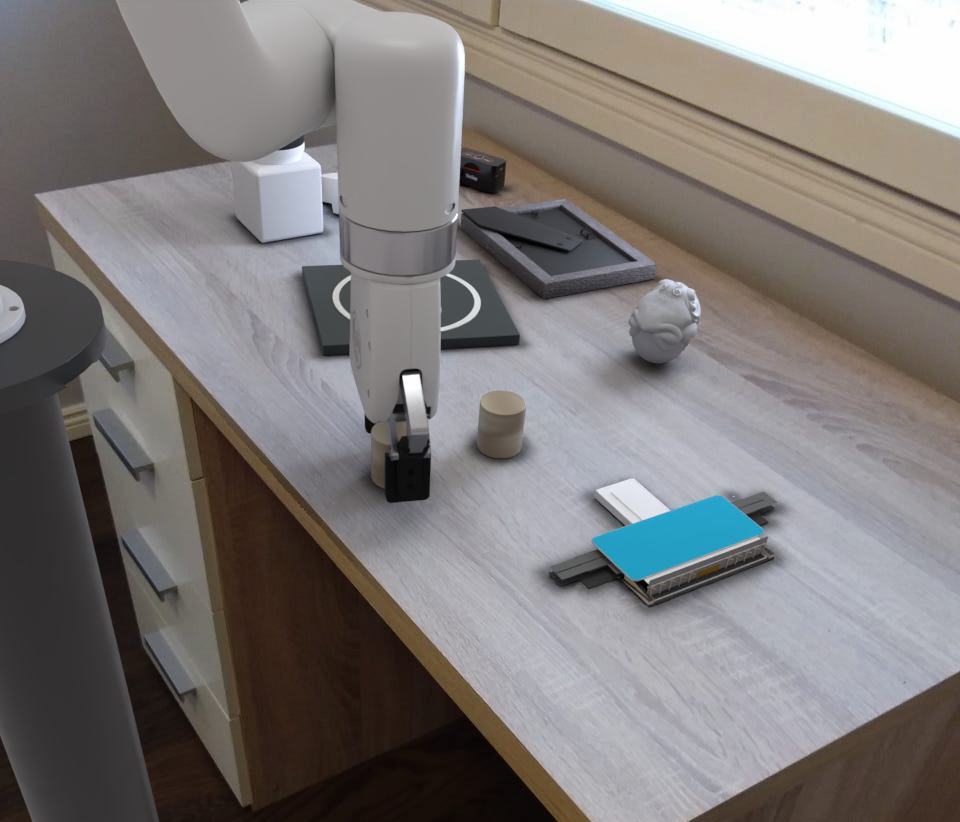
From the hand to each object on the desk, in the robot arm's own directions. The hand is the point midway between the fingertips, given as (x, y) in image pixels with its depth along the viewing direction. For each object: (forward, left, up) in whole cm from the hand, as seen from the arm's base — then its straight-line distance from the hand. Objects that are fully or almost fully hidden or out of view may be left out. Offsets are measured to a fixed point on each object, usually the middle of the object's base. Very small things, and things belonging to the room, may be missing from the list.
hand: (395, 463), depth 80 cm
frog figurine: (+27, +15, -2) cm, 31 cm away
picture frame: (+24, +38, -1) cm, 45 cm away
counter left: (0, 0, -1) cm, 1 cm away
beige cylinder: (+9, +3, -1) cm, 9 cm away
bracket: (+8, +53, -1) cm, 54 cm away
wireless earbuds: (+19, +57, -1) cm, 60 cm away
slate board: (+6, +27, -1) cm, 28 cm away
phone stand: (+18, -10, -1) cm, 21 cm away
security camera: (-4, +47, -1) cm, 47 cm away
